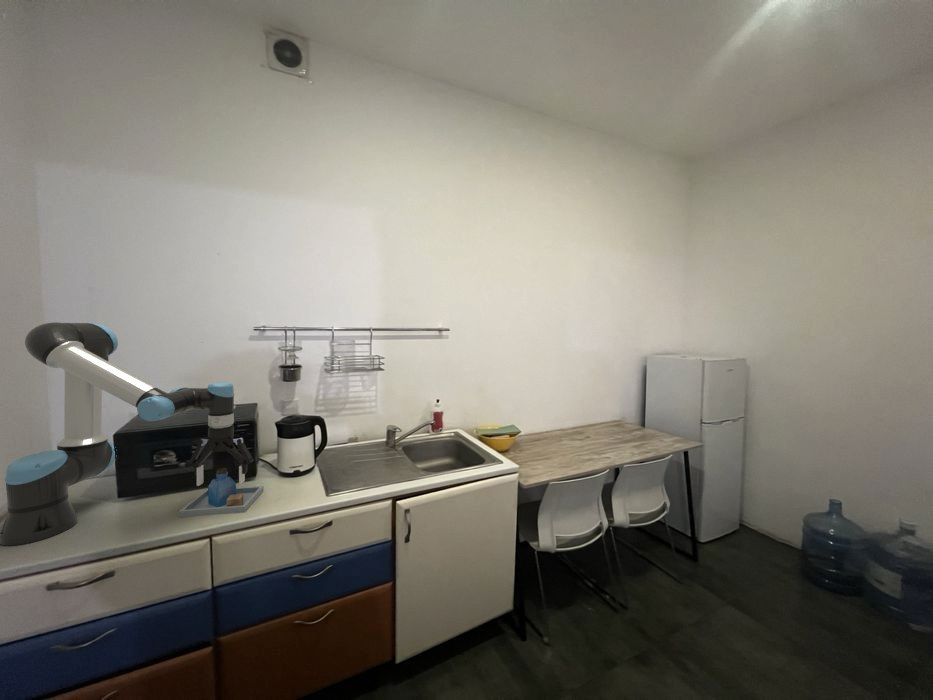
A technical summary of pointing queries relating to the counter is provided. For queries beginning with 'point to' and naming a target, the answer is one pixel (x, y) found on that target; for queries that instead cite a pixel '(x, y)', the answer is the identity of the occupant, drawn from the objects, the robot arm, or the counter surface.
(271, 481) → the counter surface
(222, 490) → the perfume bottle
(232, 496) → the walnut block
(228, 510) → the tray
